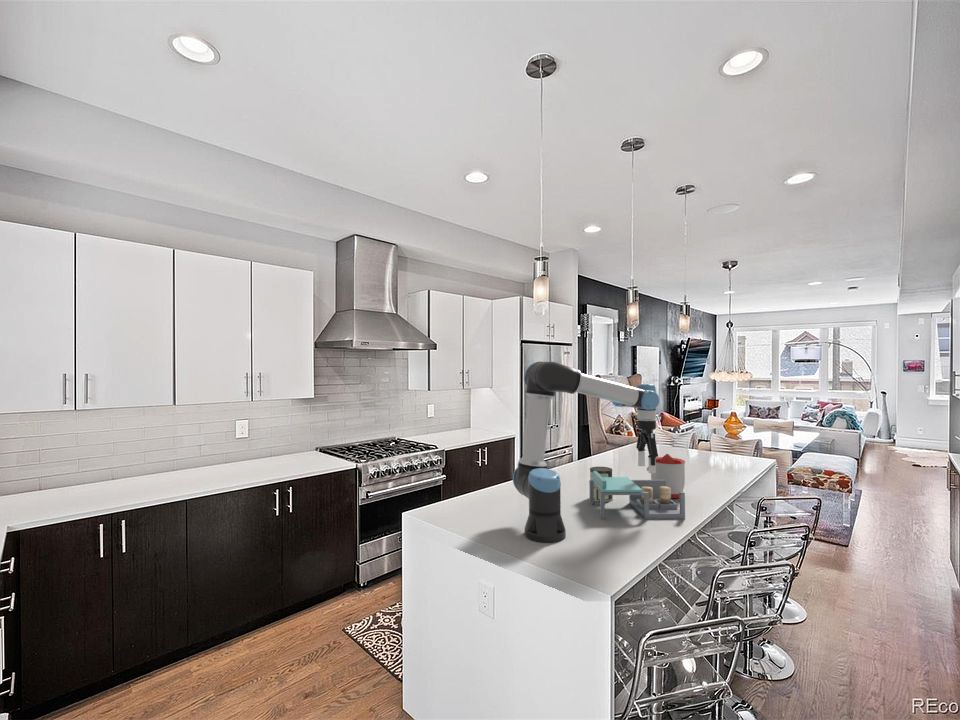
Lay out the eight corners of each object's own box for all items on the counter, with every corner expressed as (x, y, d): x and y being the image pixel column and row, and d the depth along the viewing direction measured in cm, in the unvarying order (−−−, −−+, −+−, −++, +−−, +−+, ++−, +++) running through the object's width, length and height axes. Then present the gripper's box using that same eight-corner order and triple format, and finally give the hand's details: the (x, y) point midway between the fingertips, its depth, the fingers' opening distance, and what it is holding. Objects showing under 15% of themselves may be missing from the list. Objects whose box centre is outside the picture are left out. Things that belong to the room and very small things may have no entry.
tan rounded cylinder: (643, 508, 199) (643, 489, 199) (640, 504, 203) (640, 486, 203) (654, 508, 199) (654, 489, 199) (650, 505, 203) (650, 486, 203)
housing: (685, 518, 191) (684, 492, 191) (601, 519, 191) (600, 493, 191) (664, 502, 213) (664, 479, 213) (589, 503, 213) (589, 480, 213)
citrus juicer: (643, 490, 233) (642, 450, 233) (679, 491, 232) (678, 450, 232) (651, 499, 218) (651, 456, 218) (690, 500, 216) (689, 457, 216)
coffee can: (603, 494, 227) (603, 465, 227) (617, 500, 217) (617, 469, 217) (585, 497, 223) (585, 467, 223) (598, 503, 213) (598, 472, 214)
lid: (642, 492, 191) (642, 482, 191) (603, 492, 191) (603, 482, 191) (626, 479, 213) (626, 469, 213) (591, 479, 213) (591, 470, 213)
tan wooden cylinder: (672, 508, 198) (672, 489, 199) (661, 508, 199) (661, 489, 199) (668, 504, 203) (668, 486, 203) (658, 504, 203) (657, 486, 203)
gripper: (666, 423, 189) (666, 476, 188) (645, 416, 214) (645, 463, 213) (647, 423, 189) (647, 476, 189) (629, 416, 214) (629, 463, 214)
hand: (646, 469), depth 201 cm, fingers open, 13 cm apart
